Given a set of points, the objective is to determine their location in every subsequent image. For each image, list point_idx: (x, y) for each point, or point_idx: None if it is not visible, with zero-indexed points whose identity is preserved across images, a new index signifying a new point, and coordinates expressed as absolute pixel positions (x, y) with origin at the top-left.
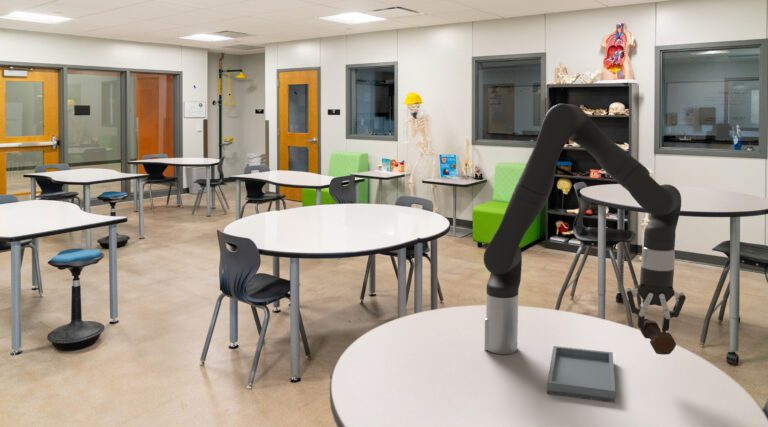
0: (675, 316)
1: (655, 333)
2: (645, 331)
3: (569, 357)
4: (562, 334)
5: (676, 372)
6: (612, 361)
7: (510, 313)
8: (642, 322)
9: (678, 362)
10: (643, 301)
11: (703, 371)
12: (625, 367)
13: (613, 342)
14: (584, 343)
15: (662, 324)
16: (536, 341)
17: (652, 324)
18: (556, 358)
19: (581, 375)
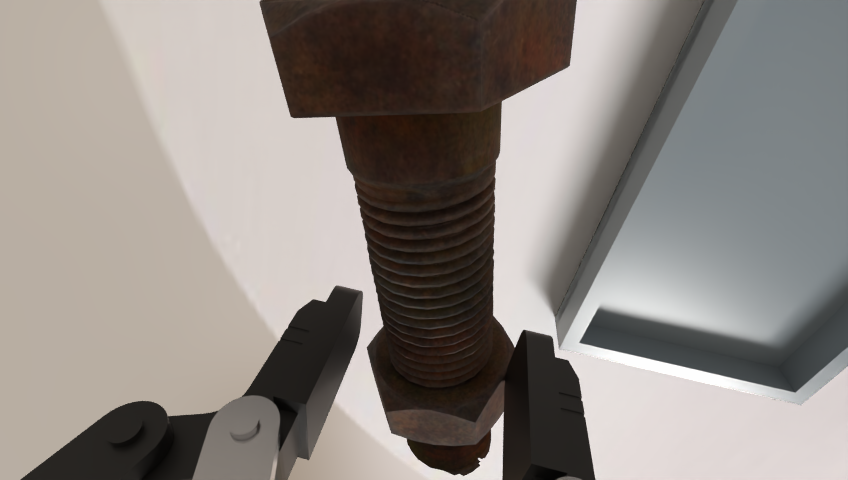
0: (144, 415)
1: (453, 215)
2: (491, 336)
3: (735, 343)
4: (641, 474)
5: (346, 252)
6: (597, 280)
7: None
8: (545, 401)
9: None
10: None
11: (262, 260)
12: (518, 284)
13: (495, 424)
14: (594, 427)
15: (341, 372)
16: (770, 452)
17: (423, 392)
18: (806, 337)
19: (791, 190)
